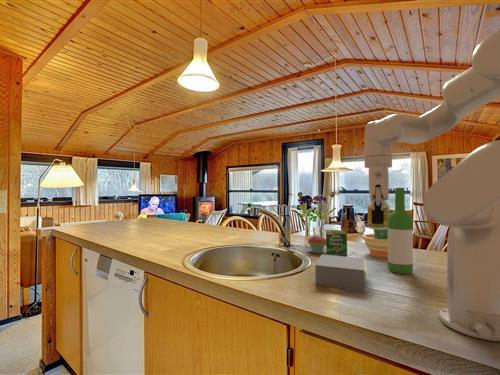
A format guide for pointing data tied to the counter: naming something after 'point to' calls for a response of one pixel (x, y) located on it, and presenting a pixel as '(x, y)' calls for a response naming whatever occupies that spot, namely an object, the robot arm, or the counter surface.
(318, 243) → the cupcake
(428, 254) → the counter surface
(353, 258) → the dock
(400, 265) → the wine bottle
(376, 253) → the potted cactus
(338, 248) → the coffee box
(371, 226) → the supplement bottle
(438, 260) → the counter surface
